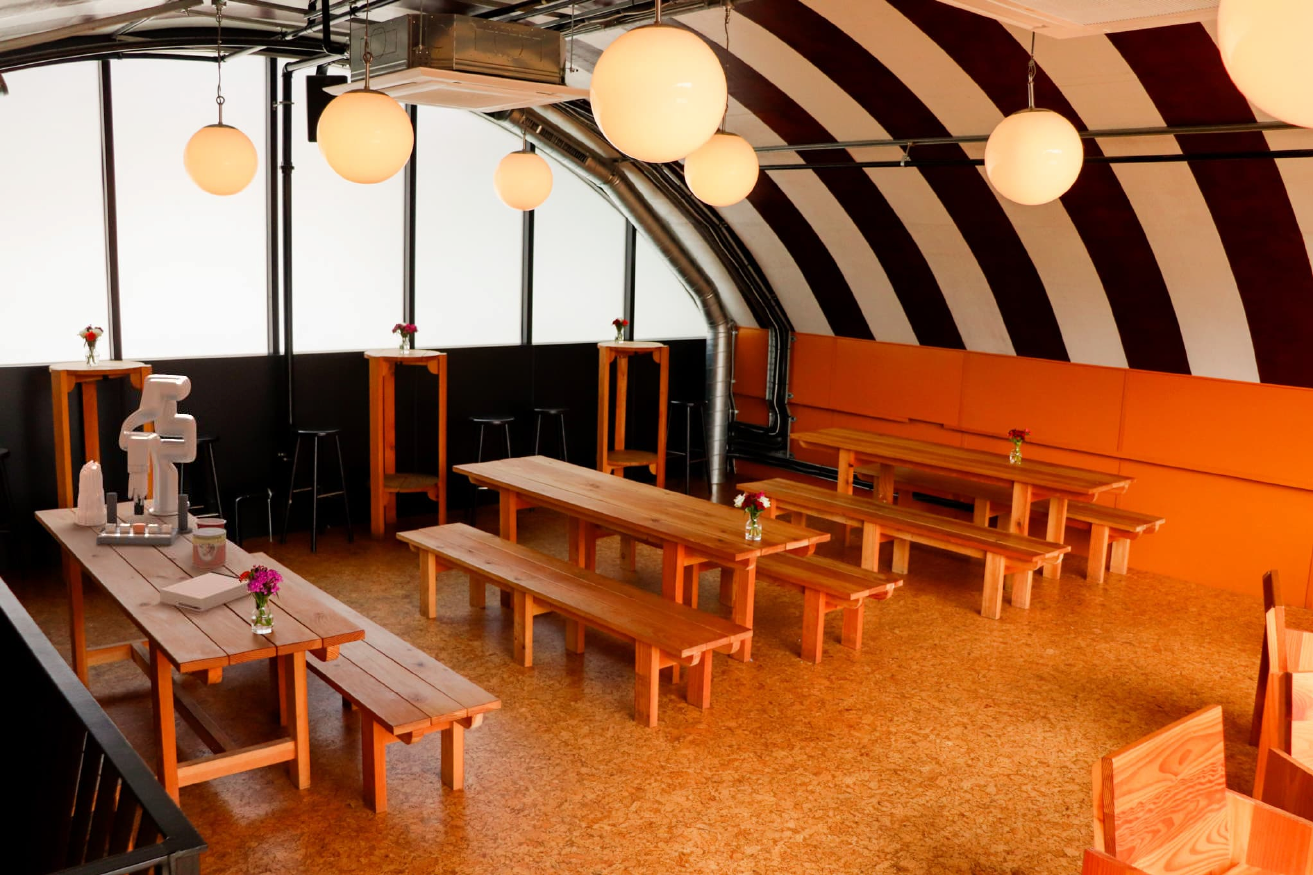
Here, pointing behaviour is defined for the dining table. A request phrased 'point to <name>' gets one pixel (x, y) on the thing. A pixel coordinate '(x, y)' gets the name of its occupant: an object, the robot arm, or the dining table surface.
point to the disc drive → (204, 591)
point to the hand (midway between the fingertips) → (139, 514)
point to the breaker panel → (138, 535)
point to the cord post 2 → (183, 514)
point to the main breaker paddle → (139, 527)
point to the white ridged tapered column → (91, 496)
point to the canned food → (209, 547)
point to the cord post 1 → (111, 509)
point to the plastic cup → (210, 523)
